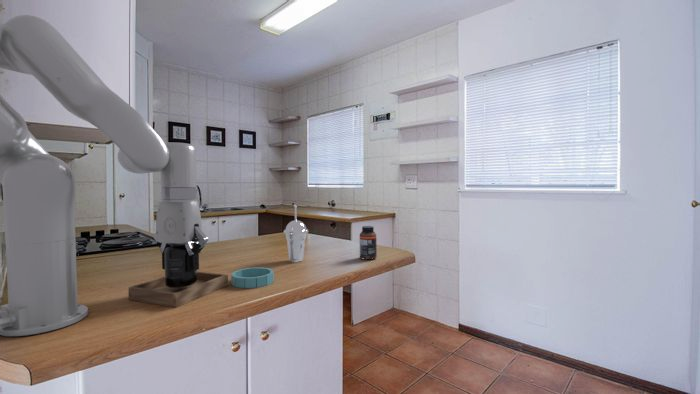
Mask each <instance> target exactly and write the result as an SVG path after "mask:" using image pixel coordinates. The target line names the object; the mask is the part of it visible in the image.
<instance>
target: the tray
mask: <svg viewBox="0 0 700 394" xmlns="http://www.w3.org/2000/svg"><path fill="white" fill-rule="evenodd" d="M228 286H229V275H228V274H225V273H223V274H222V273H216V272H215V273H213V272H205V271H199V270H197V281H196V283H194V284H193V285H190V286H186V287H179V288H170V287H167V286H166V285H165V276H162V277H159V278H156V279H152V280H149V281H145V282H141V283H138V284H135V285H132V286H129V287H128V289H127V291H128V301H135V302H139V303H147V304H152V305H159V306H164V307H171V308H179V307H181V306H183V305H185V304H188V303H190V302H193V301H195V300H198V299H200V298H202V297H205V296H207V295H209V294H211V293H214V292H216V291H219V290H221V289H224V288H226V287H228Z"/></svg>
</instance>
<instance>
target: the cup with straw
mask: <svg viewBox="0 0 700 394" xmlns="http://www.w3.org/2000/svg"><path fill="white" fill-rule="evenodd" d="M291 205H292V206H293V207H294V220H291V221H290V222H288V224H287V225H286V226H285V229H284V230H283V232H282V233H283V234H284V235H285V238H286V241H287V242H286V243H287V251H288V258H289V262H290V261H292V262H291V263H299V262H298V261H302V260H303V261H304V255H305V247H306V246H305V244H306V239H307V234H308V233H309V229H308V228H307V226H306V224H305V223H304V222H303V221H301V220H298V219H297V218H298V214H297V213H298V211H297V210H298V208H297V207H298V206H297V204H296V203H294V202H292V203H291ZM303 261H302V262H303Z"/></svg>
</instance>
